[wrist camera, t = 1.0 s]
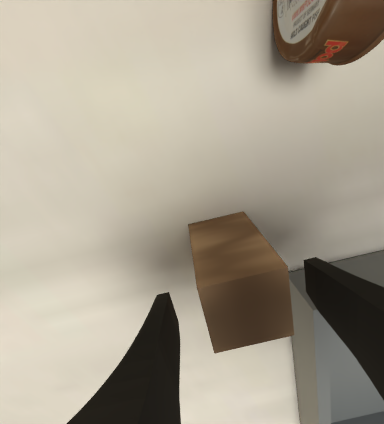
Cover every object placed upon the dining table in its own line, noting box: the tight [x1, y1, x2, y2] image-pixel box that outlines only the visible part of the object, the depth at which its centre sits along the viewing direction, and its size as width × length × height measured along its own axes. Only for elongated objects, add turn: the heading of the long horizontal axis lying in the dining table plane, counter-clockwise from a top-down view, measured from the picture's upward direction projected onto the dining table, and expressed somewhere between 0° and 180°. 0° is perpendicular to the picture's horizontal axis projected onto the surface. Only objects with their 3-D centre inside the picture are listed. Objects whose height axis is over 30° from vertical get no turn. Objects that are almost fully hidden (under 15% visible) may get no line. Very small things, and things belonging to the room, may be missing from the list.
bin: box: [288, 250, 384, 424], centre depth 20 cm, size 13×20×4 cm, turn 13°
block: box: [188, 212, 294, 353], centre depth 14 cm, size 4×4×7 cm
